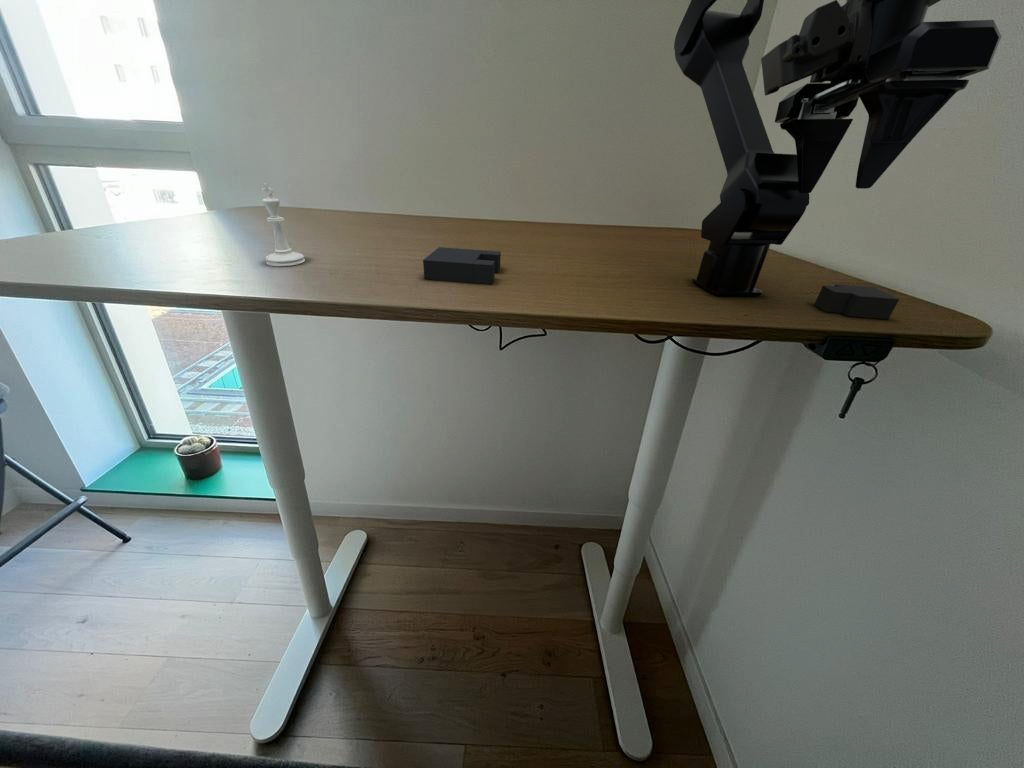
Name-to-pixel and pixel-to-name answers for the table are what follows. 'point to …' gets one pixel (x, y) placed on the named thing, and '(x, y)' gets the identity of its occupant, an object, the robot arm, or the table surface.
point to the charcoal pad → (462, 265)
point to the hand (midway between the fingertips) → (830, 191)
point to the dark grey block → (856, 301)
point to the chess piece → (279, 234)
